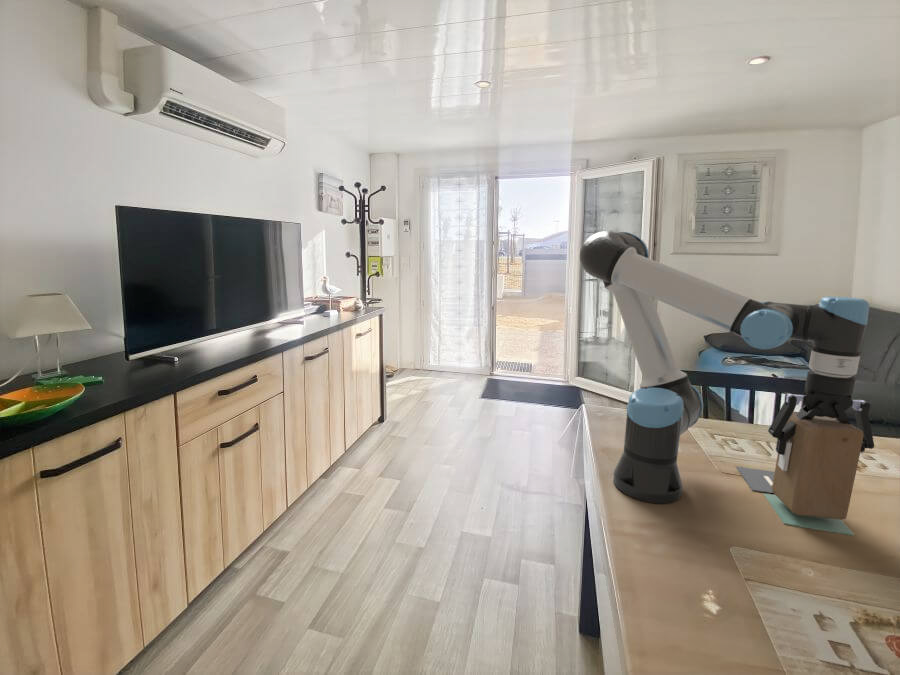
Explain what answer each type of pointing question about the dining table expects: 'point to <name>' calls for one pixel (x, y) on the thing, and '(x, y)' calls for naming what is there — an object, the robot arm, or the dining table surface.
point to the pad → (806, 518)
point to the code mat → (758, 479)
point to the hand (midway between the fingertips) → (812, 472)
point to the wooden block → (819, 467)
